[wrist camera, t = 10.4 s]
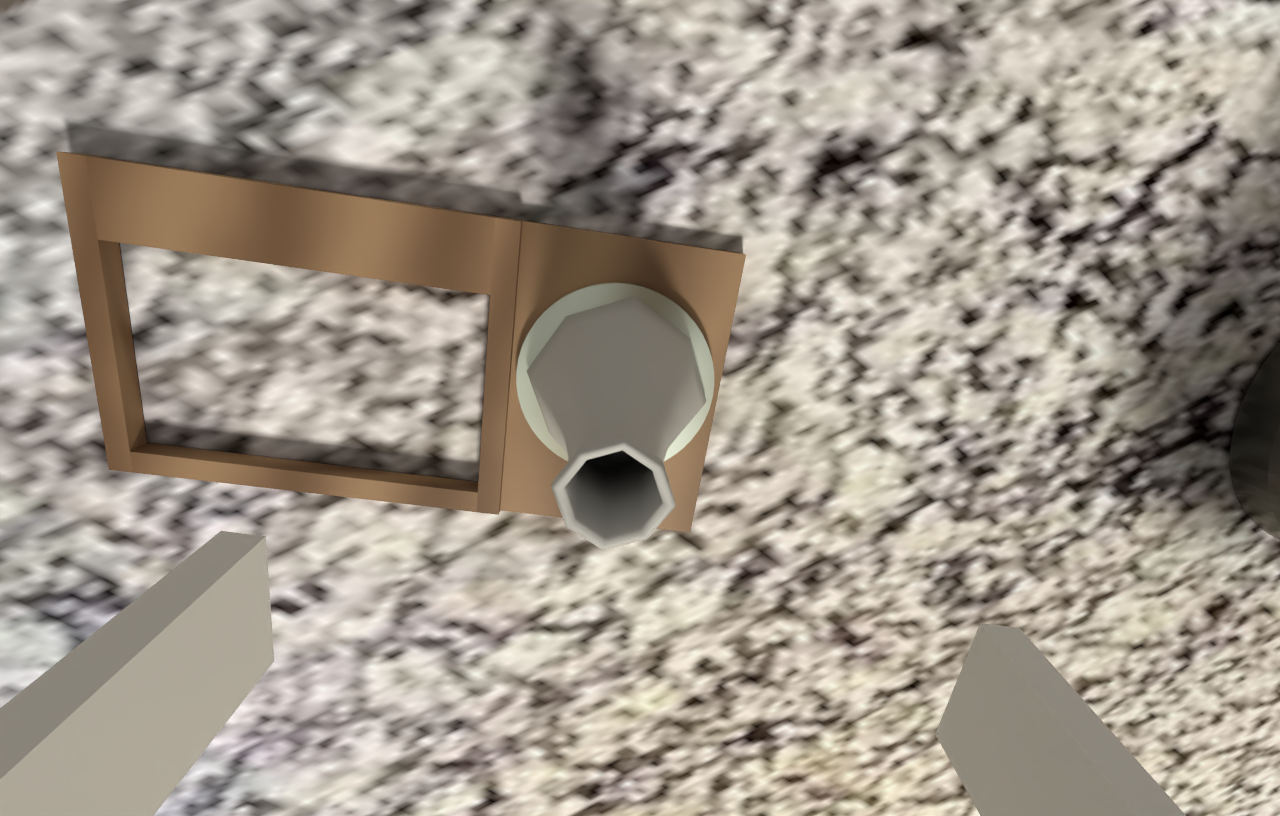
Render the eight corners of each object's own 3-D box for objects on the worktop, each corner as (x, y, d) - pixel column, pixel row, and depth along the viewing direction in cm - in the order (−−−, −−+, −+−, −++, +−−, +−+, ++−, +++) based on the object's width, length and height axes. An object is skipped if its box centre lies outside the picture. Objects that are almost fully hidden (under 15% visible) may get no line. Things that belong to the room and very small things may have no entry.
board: (743, 253, 25) (748, 256, 24) (688, 525, 29) (691, 537, 28) (79, 153, 23) (53, 151, 22) (126, 459, 27) (107, 470, 26)
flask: (640, 263, 24) (650, 310, 14) (734, 404, 26) (797, 526, 17) (496, 363, 25) (420, 467, 16) (598, 490, 27) (584, 649, 18)
